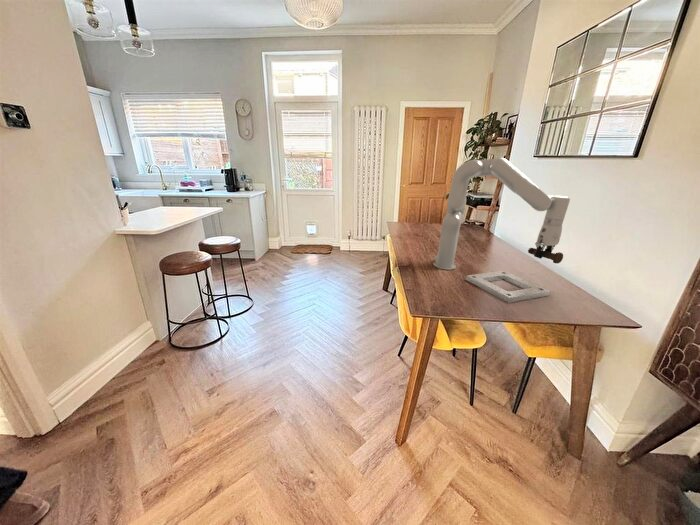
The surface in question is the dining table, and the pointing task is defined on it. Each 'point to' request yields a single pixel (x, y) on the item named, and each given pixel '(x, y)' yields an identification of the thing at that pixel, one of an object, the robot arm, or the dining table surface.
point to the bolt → (548, 255)
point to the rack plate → (511, 296)
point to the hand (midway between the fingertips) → (542, 256)
